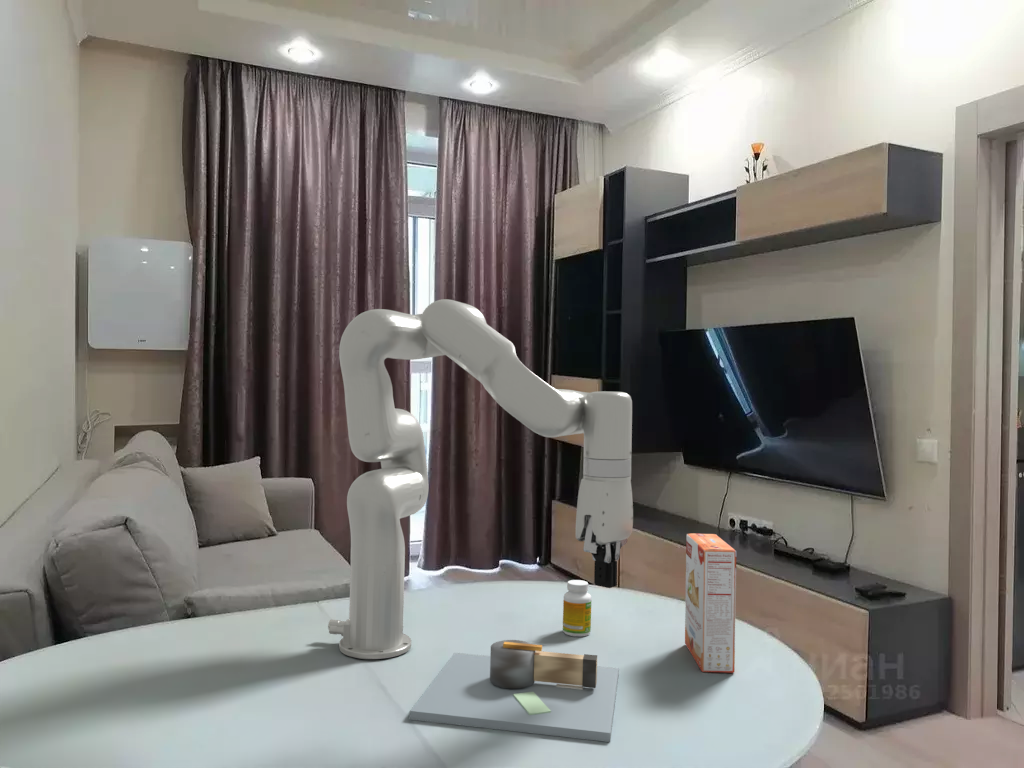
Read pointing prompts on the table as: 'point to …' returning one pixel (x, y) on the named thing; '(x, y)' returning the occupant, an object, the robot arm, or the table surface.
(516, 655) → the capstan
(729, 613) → the cracker box
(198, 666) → the table surface
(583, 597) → the supplement bottle
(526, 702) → the board
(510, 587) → the table surface
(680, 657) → the table surface
